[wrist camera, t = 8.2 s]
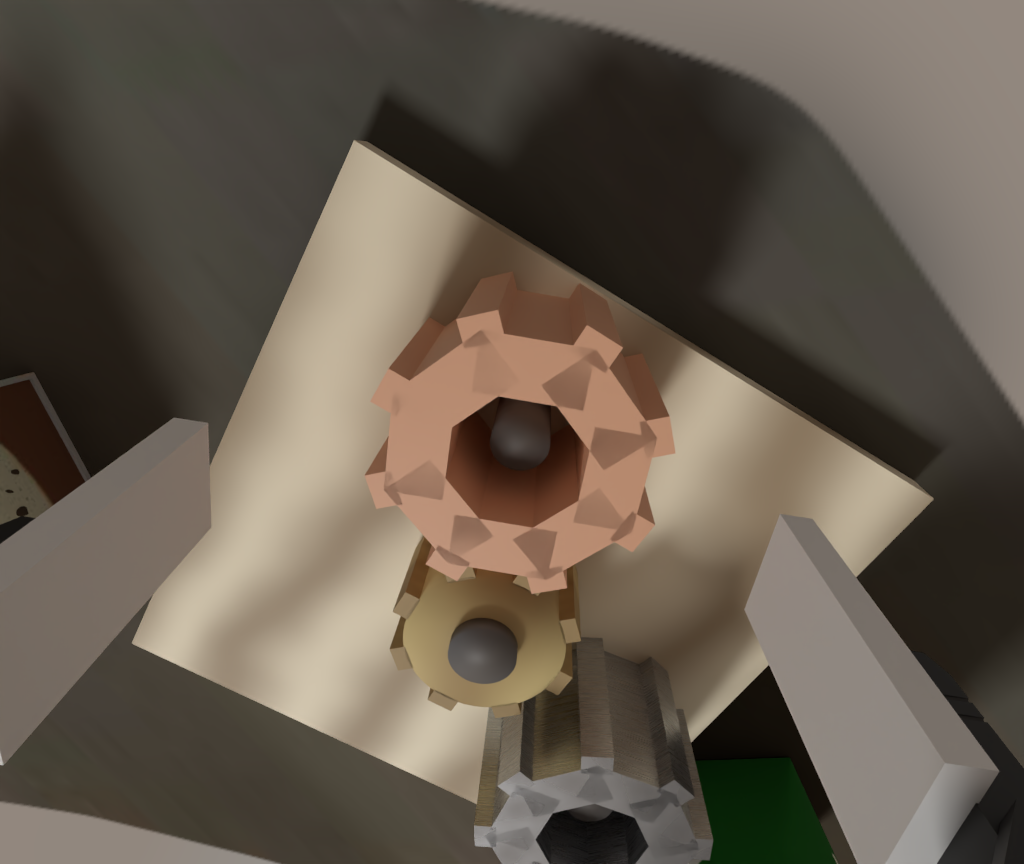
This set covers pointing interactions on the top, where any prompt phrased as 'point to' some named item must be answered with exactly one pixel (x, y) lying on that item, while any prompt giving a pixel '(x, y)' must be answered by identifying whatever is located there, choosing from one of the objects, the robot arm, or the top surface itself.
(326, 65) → the top surface
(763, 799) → the milk carton
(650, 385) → the planet gear
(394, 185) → the carrier
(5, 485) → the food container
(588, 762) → the seated gear
